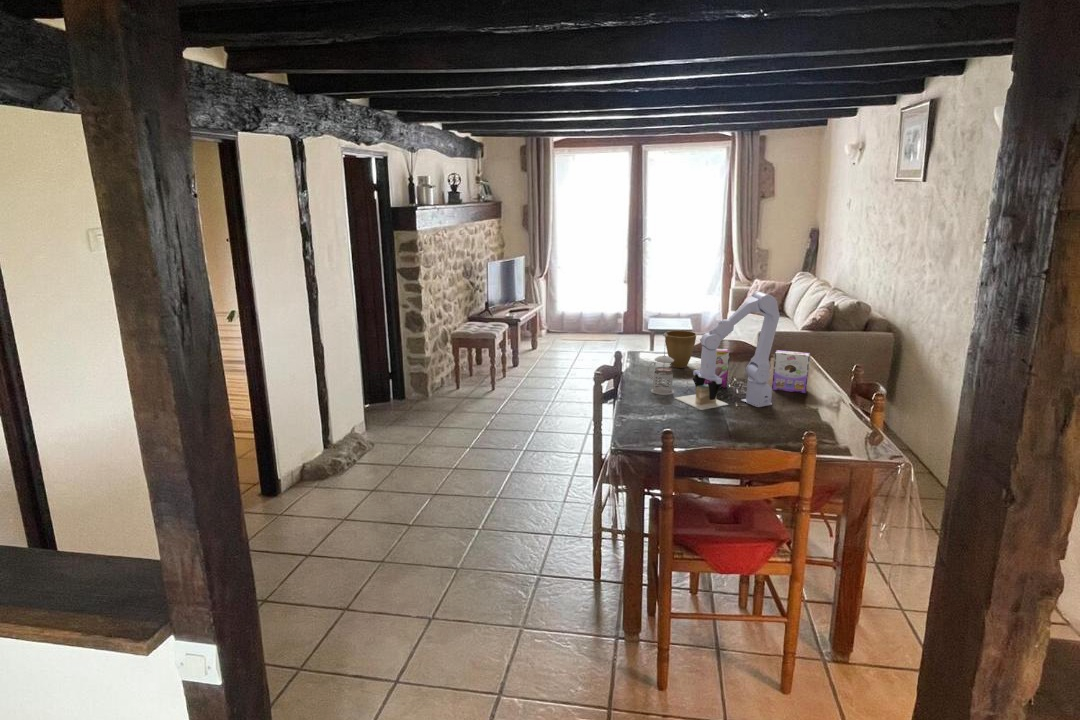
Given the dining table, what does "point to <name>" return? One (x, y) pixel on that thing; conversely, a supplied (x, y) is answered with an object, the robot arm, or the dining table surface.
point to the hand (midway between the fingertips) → (705, 396)
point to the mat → (691, 401)
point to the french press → (662, 375)
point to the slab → (703, 395)
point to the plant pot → (680, 347)
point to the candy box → (791, 371)
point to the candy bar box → (721, 366)
